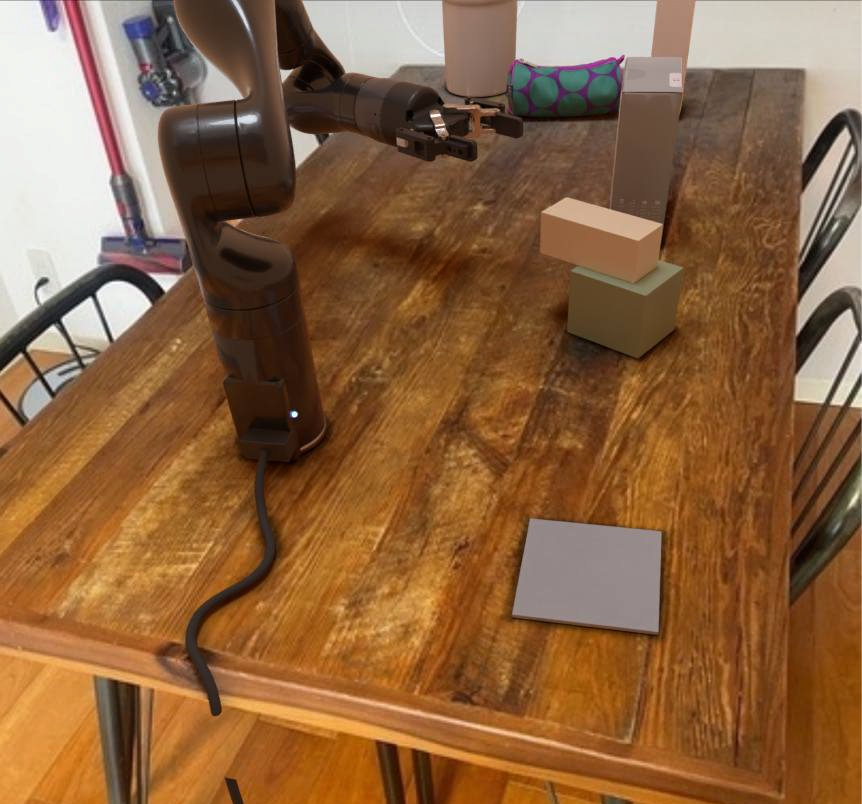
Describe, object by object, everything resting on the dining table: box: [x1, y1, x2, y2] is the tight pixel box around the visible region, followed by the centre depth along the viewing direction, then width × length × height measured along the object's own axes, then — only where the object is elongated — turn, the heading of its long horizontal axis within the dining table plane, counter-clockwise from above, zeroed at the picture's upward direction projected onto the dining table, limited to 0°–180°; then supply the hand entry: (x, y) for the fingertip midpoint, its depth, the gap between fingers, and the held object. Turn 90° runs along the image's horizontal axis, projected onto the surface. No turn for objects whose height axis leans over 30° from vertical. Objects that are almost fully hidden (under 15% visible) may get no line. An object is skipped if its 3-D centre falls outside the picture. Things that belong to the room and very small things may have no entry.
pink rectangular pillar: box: [650, 0, 696, 116], centre depth 148 cm, size 6×6×22 cm
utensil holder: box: [441, 0, 518, 98], centre depth 166 cm, size 15×15×18 cm
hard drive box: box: [608, 56, 684, 246], centre depth 117 cm, size 16×8×20 cm, turn 168°
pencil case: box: [505, 54, 626, 118], centre depth 155 cm, size 21×9×10 cm, turn 85°
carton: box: [539, 196, 664, 283], centre depth 98 cm, size 13×5×5 cm, turn 48°
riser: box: [566, 259, 685, 359], centre depth 101 cm, size 10×8×8 cm
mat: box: [511, 517, 663, 636], centre depth 75 cm, size 12×12×1 cm
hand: (499, 140), depth 100 cm, fingers open, 8 cm apart
